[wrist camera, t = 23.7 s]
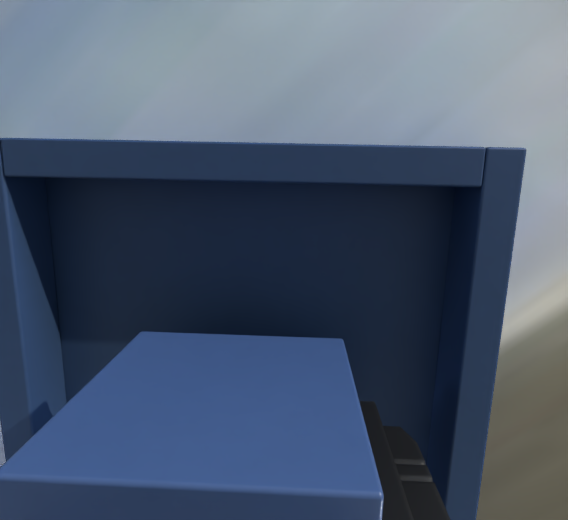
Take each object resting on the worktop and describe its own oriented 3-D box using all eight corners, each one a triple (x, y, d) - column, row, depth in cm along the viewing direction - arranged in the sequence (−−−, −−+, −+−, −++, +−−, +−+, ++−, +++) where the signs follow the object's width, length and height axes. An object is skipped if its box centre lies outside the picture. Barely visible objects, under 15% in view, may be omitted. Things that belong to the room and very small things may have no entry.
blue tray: (66, 553, 13) (25, 620, 11) (24, 144, 10) (-39, 136, 8) (434, 573, 13) (459, 646, 11) (483, 153, 10) (527, 147, 8)
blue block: (149, 503, 10) (29, 764, 6) (140, 330, 9) (-13, 475, 5) (334, 513, 10) (360, 788, 5) (343, 337, 9) (385, 495, 4)
